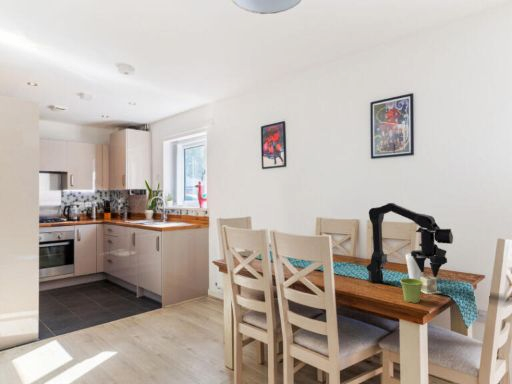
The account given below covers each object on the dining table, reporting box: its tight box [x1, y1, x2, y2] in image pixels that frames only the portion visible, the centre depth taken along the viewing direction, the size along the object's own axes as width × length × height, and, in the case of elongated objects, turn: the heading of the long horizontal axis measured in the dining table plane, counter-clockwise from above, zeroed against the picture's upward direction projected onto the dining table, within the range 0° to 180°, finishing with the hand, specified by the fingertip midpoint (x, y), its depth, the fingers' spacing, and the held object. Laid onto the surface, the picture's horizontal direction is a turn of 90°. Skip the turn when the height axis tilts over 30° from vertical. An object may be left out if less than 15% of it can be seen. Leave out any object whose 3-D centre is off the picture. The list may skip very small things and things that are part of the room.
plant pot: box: [399, 278, 423, 304], centre depth 145 cm, size 9×9×9 cm
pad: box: [421, 290, 443, 295], centre depth 158 cm, size 8×8×1 cm
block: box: [420, 275, 438, 292], centre depth 158 cm, size 5×5×6 cm
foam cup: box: [405, 253, 426, 280], centre depth 179 cm, size 10×9×13 cm
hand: (428, 274), depth 158 cm, fingers open, 9 cm apart
